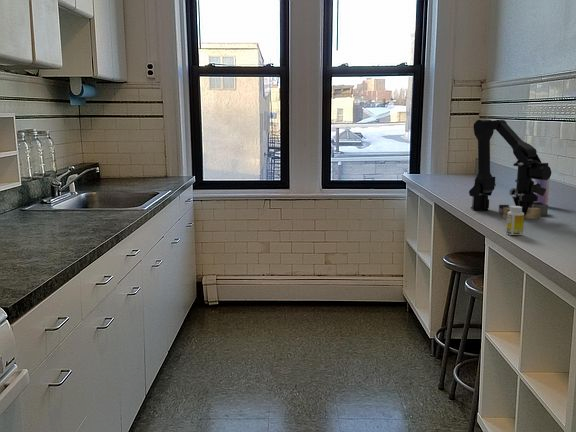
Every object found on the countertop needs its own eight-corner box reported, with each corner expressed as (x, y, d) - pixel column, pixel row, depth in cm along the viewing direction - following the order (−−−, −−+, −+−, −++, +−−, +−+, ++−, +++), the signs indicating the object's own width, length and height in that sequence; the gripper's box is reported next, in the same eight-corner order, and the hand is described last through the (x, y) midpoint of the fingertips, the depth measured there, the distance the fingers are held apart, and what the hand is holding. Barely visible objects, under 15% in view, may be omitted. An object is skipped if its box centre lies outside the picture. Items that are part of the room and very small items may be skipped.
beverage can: (539, 207, 264) (541, 174, 261) (530, 205, 270) (532, 173, 267) (550, 206, 266) (552, 174, 263) (541, 204, 271) (543, 172, 269)
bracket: (532, 215, 245) (533, 204, 244) (526, 212, 252) (527, 202, 251) (547, 215, 244) (547, 205, 243) (541, 212, 252) (542, 202, 251)
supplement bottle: (525, 234, 208) (527, 206, 206) (519, 237, 204) (521, 208, 202) (509, 232, 212) (511, 204, 210) (503, 234, 208) (505, 206, 206)
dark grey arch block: (503, 214, 246) (503, 207, 245) (498, 211, 253) (499, 204, 253) (512, 215, 246) (513, 207, 245) (507, 211, 253) (508, 204, 252)
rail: (507, 219, 237) (508, 209, 236) (503, 217, 241) (503, 208, 240) (540, 218, 238) (540, 209, 238) (535, 216, 242) (535, 207, 242)
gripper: (552, 180, 227) (549, 219, 230) (537, 175, 245) (534, 211, 248) (523, 180, 228) (520, 219, 231) (510, 175, 246) (508, 211, 249)
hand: (521, 215), depth 240 cm, fingers closed on rail, 4 cm apart
